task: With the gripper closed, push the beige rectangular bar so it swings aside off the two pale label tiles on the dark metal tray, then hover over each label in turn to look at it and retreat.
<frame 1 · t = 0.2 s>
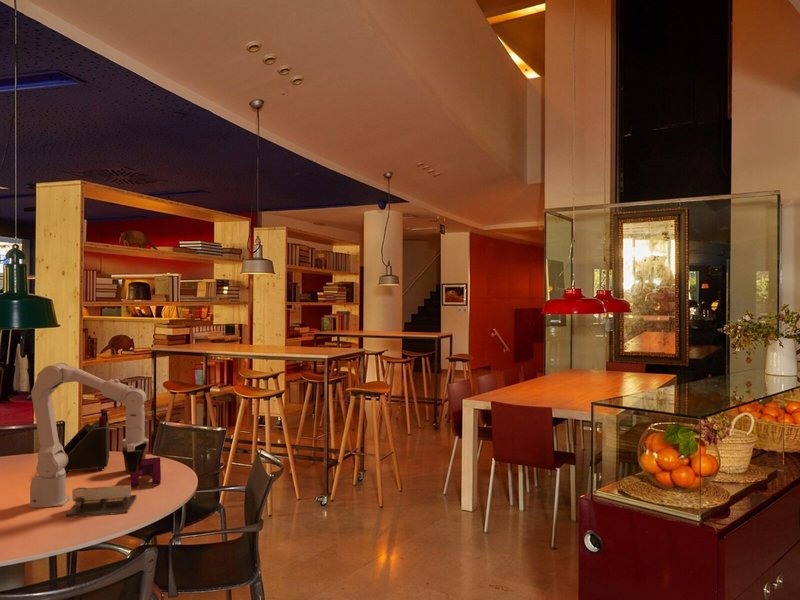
hand: (135, 468, 198), 10 cm above the table, tool pointing down, fingers open, 7 cm apart
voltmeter: (84, 468, 235), on the table
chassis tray: (102, 507, 189), on the table
disposable coffee cup: (134, 471, 230), on the table
mounting bracket: (144, 481, 217), on the table
beige rectangular bar: (101, 492, 189), point 5 cm above the table, hinge at 0.0°
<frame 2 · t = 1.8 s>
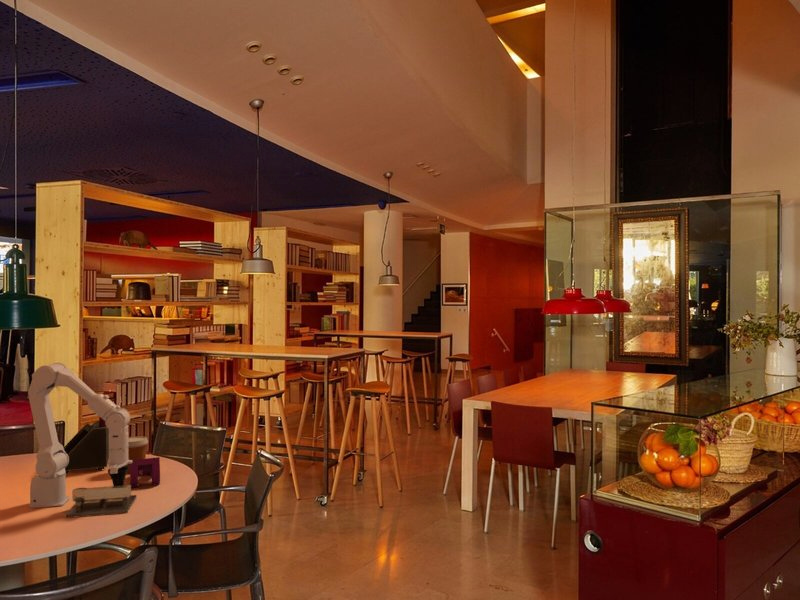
hand: (118, 490, 195), 3 cm above the table, tool pointing down, fingers closed
nothing on the table moved.
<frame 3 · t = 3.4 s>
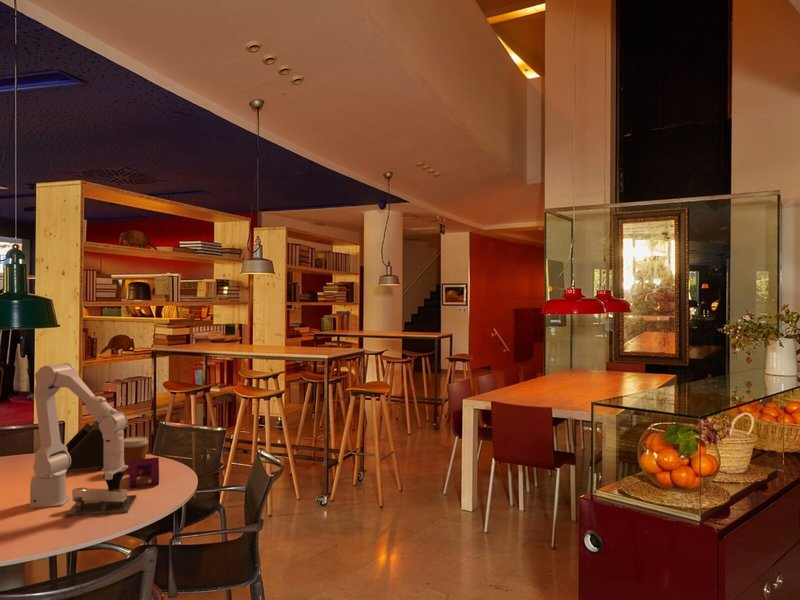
hand: (114, 496, 189), 3 cm above the table, tool pointing down, fingers closed, pressing on beige rectangular bar
beige rectangular bar: (99, 494, 187), point 4 cm above the table, hinge at 17.8°, touching gripper
everything else where it was.
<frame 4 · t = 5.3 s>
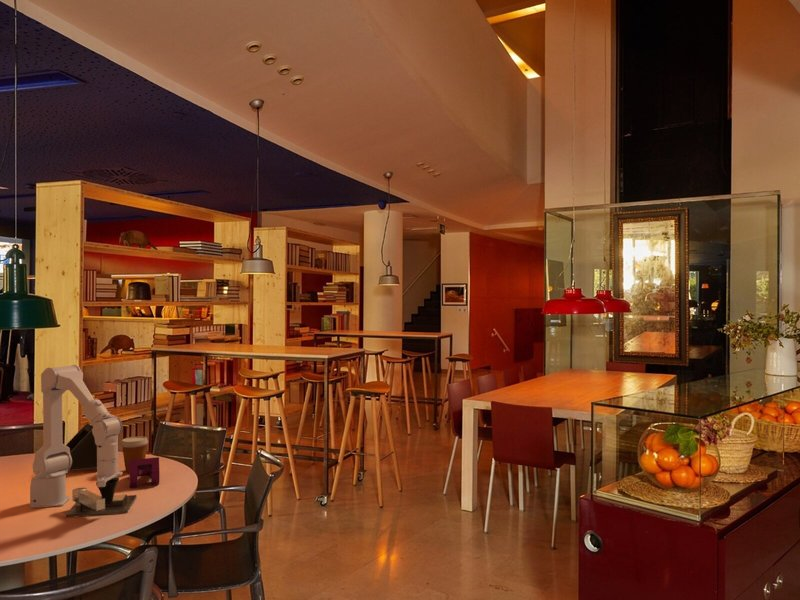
hand: (107, 504, 182), 3 cm above the table, tool pointing down, fingers closed
beige rectangular bar: (88, 498, 184), point 4 cm above the table, hinge at 53.0°, touching gripper
everything else where it was.
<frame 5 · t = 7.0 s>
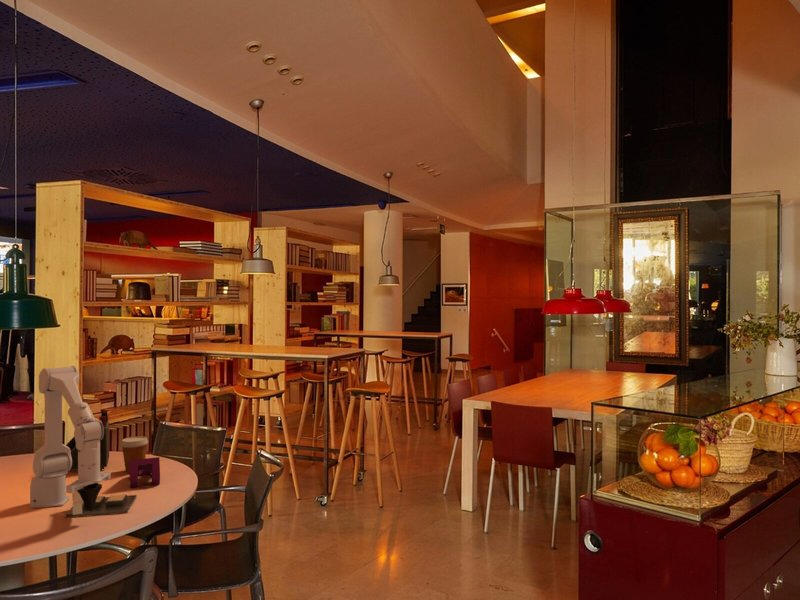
hand: (89, 510, 177), 3 cm above the table, tool pointing down, fingers closed
beige rectangular bar: (78, 500, 182), point 5 cm above the table, hinge at 77.4°, touching gripper
everything else where it was.
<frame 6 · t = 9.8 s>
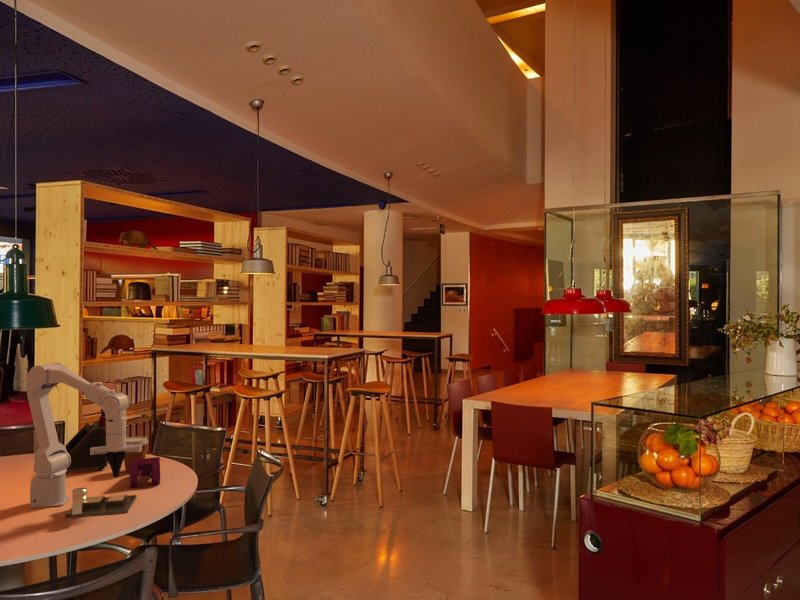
hand: (116, 476, 190), 9 cm above the table, tool pointing down, fingers closed
beige rectangular bar: (78, 500, 182), point 5 cm above the table, hinge at 77.9°
everything else where it was.
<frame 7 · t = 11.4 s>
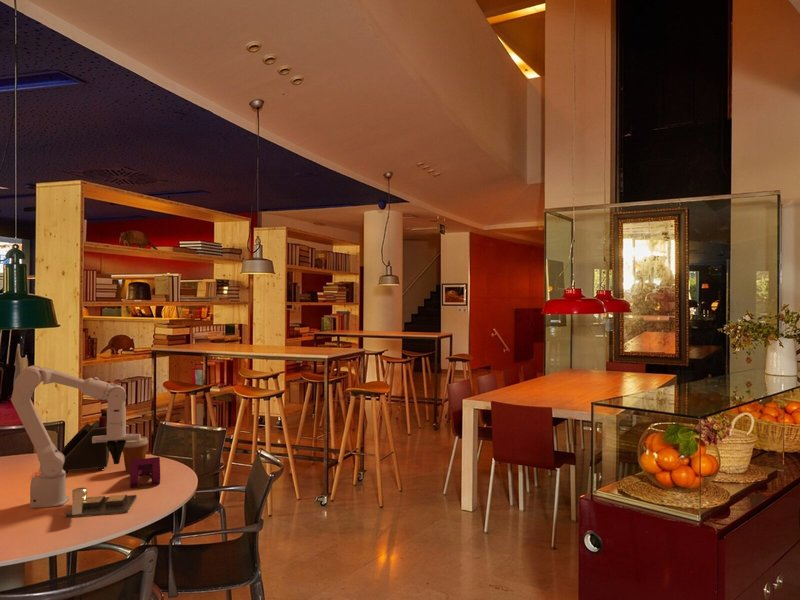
hand: (116, 463, 201), 10 cm above the table, tool pointing down, fingers closed
nothing on the table moved.
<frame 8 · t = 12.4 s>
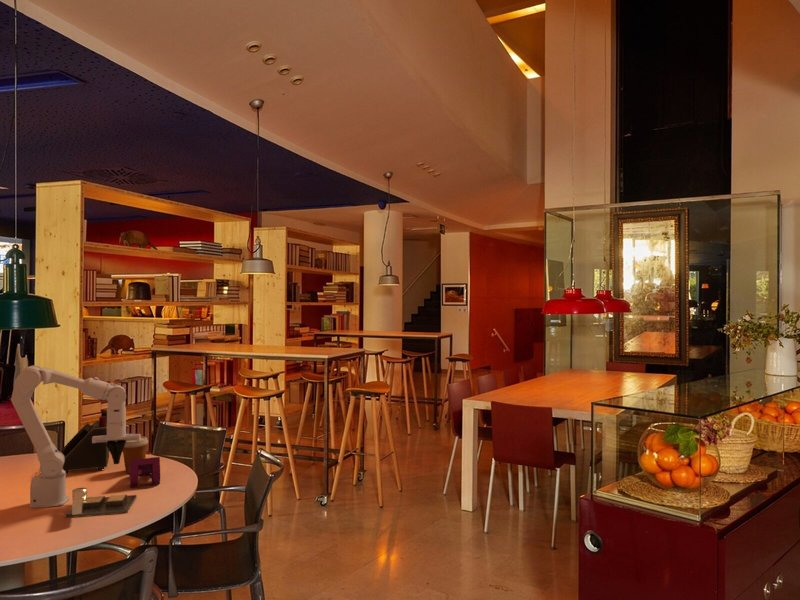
hand: (116, 463, 201), 10 cm above the table, tool pointing down, fingers closed
nothing on the table moved.
at the end: beige rectangular bar at +78° (first picture: +0°); beige rectangular bar touching nothing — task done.
